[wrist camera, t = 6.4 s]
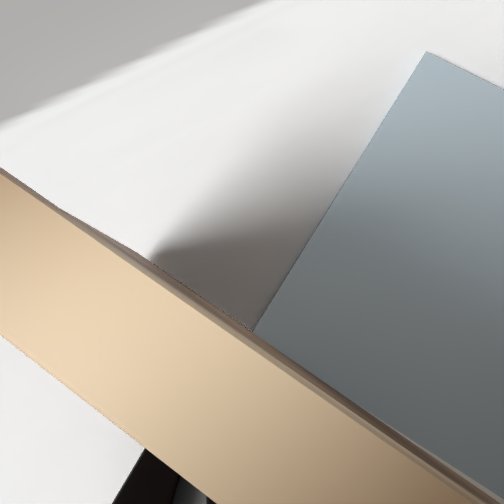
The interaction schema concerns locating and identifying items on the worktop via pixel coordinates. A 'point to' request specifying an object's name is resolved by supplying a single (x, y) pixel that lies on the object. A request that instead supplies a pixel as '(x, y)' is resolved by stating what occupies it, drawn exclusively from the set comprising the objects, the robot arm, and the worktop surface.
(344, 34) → the worktop surface
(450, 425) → the card
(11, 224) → the fence swing panel
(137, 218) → the worktop surface
